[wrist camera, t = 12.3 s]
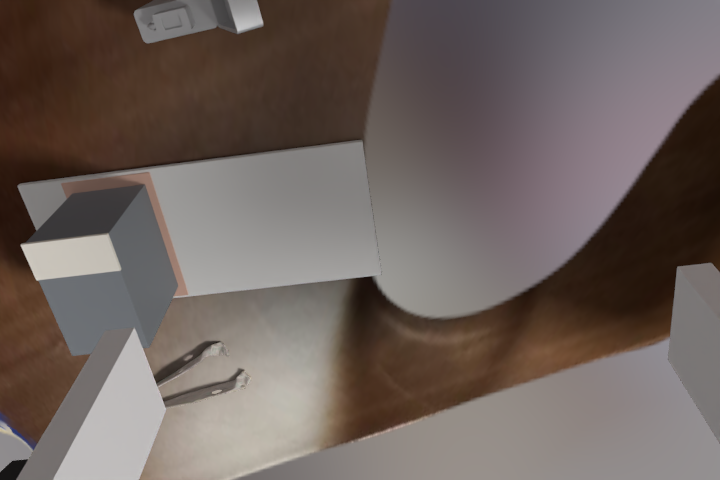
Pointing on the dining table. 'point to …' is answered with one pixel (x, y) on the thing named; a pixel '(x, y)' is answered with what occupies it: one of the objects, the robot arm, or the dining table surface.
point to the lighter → (195, 17)
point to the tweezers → (206, 393)
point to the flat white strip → (248, 216)
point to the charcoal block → (103, 266)
